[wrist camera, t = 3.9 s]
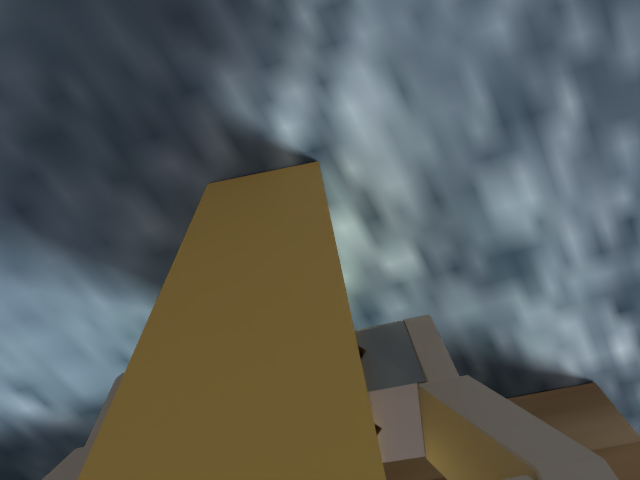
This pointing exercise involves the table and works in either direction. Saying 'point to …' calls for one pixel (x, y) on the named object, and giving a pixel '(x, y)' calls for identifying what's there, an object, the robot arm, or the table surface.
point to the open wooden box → (570, 419)
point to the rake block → (246, 350)
